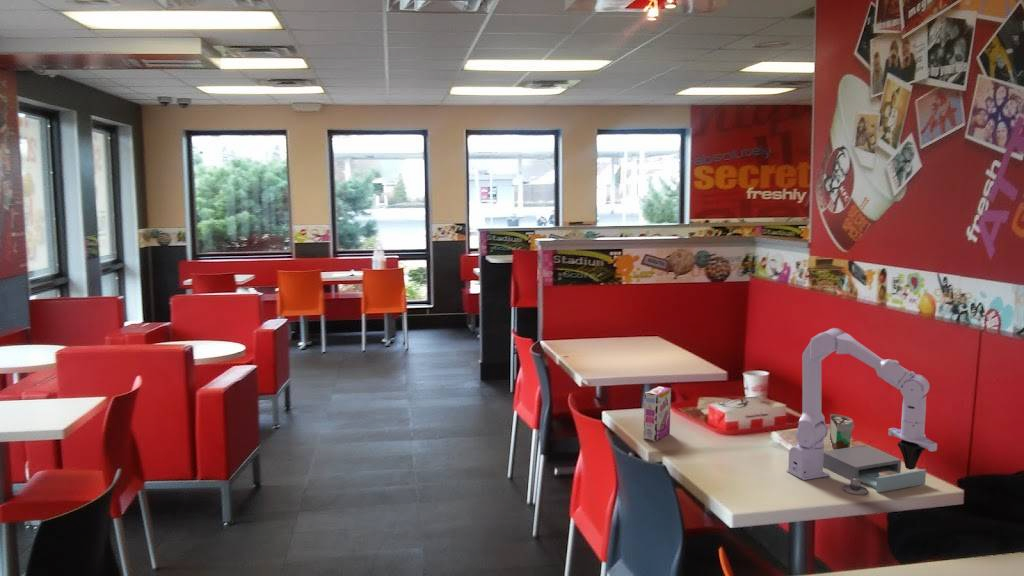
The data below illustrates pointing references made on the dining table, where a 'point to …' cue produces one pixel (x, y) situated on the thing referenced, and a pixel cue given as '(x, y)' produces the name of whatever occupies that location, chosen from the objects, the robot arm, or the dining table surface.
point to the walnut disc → (886, 473)
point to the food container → (840, 431)
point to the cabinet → (858, 460)
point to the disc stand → (855, 487)
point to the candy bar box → (657, 413)
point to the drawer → (891, 478)
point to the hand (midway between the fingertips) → (910, 468)
